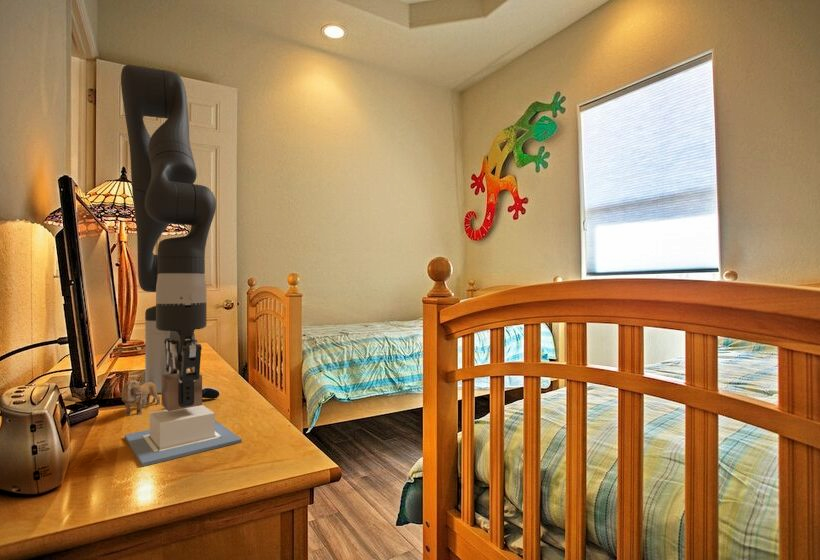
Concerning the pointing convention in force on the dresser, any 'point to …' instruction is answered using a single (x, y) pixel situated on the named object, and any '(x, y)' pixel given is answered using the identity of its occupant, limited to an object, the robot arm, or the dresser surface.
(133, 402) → the lion figurine
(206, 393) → the game controller
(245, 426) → the dresser surface
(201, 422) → the base slab
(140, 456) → the board
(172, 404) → the walnut cube
